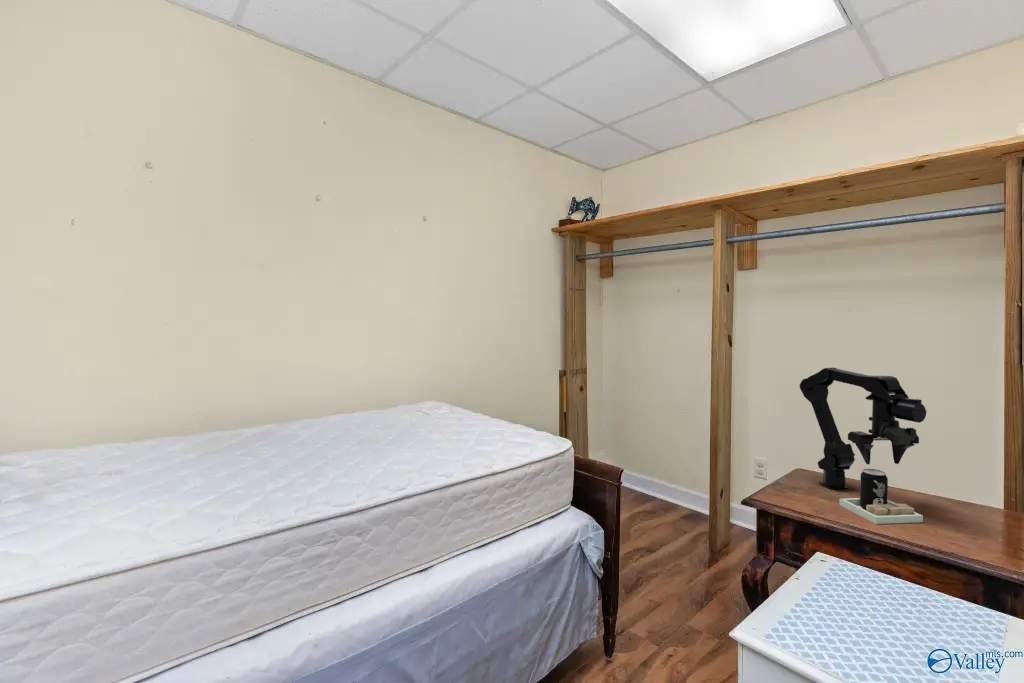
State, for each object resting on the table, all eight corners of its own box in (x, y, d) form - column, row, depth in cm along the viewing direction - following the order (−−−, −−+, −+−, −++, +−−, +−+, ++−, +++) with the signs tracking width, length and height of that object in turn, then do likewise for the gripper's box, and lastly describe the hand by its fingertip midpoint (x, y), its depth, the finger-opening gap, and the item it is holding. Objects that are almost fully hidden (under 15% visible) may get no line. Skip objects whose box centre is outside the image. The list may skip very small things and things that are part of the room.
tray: (839, 506, 147) (839, 498, 147) (882, 504, 148) (882, 497, 147) (875, 525, 133) (875, 517, 133) (922, 524, 134) (922, 515, 133)
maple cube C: (892, 515, 139) (892, 503, 138) (904, 515, 138) (905, 503, 138) (900, 520, 135) (901, 508, 135) (913, 520, 135) (914, 508, 135)
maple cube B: (879, 516, 138) (879, 504, 138) (888, 515, 139) (888, 503, 138) (891, 521, 134) (891, 509, 134) (900, 520, 135) (900, 508, 135)
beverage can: (865, 513, 140) (865, 474, 140) (856, 504, 147) (857, 467, 146) (891, 515, 138) (892, 475, 138) (881, 506, 145) (881, 469, 144)
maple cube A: (866, 516, 138) (866, 504, 138) (877, 516, 138) (877, 504, 138) (875, 521, 134) (876, 509, 134) (887, 521, 135) (887, 509, 134)
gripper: (874, 422, 139) (872, 472, 140) (936, 421, 139) (934, 471, 140) (847, 414, 150) (846, 461, 151) (904, 413, 150) (903, 460, 151)
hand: (882, 463), depth 148 cm, fingers open, 9 cm apart
